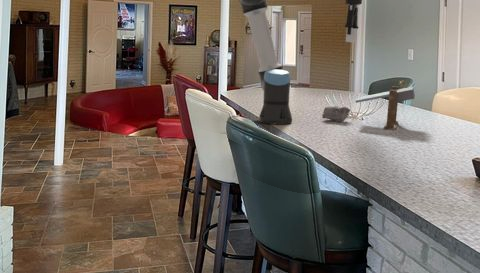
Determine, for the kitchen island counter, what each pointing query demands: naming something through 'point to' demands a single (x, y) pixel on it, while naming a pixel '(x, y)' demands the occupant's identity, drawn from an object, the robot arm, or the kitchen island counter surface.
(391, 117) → the frame
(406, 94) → the trapdoor
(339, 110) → the stone
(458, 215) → the kitchen island counter surface
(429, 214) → the kitchen island counter surface
